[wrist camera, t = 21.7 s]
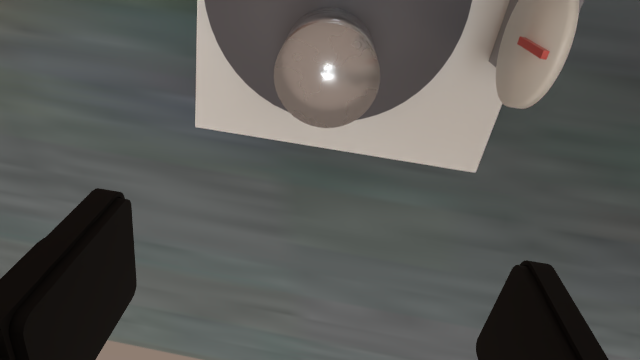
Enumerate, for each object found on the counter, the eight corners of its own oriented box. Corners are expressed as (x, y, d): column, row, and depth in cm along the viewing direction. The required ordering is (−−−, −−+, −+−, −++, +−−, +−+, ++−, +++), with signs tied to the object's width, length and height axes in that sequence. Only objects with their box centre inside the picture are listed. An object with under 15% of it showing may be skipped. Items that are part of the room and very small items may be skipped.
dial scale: (585, -172, 26) (760, -245, 15) (466, 155, 37) (517, 249, 26) (216, -245, 25) (120, -378, 14) (205, 112, 36) (146, 191, 25)
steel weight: (383, 16, 28) (391, 33, 23) (363, 104, 31) (367, 135, 26) (290, 0, 28) (280, 14, 23) (280, 90, 31) (268, 119, 26)
